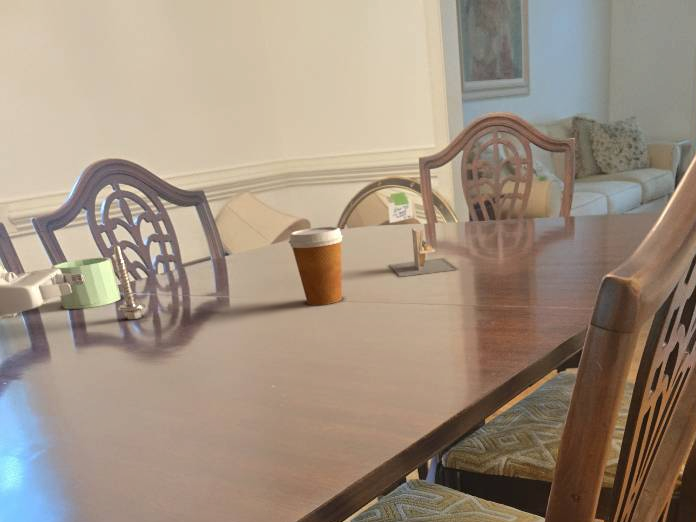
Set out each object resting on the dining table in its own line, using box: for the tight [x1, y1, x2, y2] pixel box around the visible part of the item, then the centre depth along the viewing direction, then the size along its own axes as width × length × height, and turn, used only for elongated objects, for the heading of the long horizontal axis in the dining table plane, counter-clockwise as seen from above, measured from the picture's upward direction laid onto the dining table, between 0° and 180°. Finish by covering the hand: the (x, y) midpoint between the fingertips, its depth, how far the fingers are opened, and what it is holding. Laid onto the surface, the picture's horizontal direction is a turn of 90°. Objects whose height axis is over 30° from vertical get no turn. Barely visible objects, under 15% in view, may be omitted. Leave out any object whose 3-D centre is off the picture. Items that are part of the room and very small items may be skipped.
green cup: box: [50, 256, 122, 310], centre depth 159 cm, size 12×12×8 cm
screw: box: [112, 243, 146, 321], centre depth 139 cm, size 13×5×5 cm
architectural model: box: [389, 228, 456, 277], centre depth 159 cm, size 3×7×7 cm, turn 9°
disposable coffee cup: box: [288, 226, 343, 306], centre depth 137 cm, size 10×10×12 cm
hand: (77, 283), depth 138 cm, fingers open, 8 cm apart
